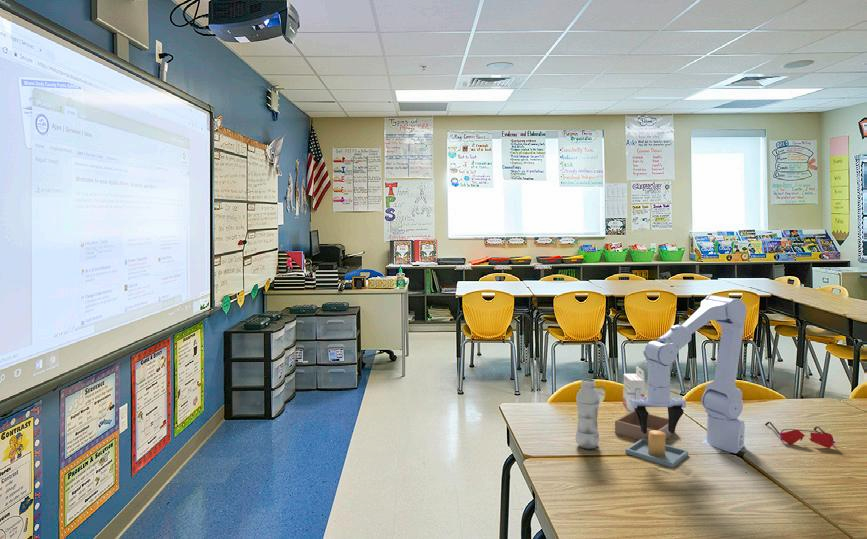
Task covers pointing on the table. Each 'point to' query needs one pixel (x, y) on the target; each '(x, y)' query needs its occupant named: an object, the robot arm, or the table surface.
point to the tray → (670, 458)
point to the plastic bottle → (587, 415)
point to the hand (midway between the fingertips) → (657, 432)
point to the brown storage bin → (632, 427)
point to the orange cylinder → (656, 443)
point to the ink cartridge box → (633, 387)
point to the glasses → (796, 435)
